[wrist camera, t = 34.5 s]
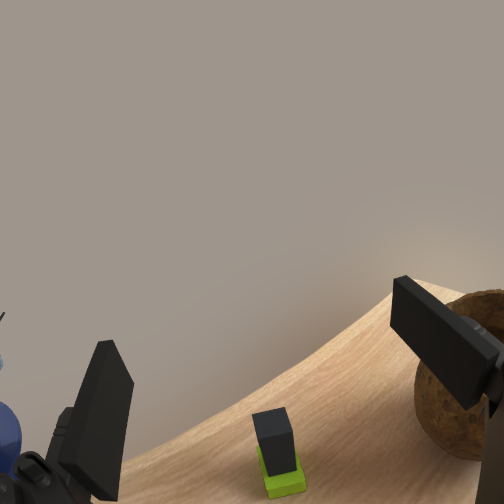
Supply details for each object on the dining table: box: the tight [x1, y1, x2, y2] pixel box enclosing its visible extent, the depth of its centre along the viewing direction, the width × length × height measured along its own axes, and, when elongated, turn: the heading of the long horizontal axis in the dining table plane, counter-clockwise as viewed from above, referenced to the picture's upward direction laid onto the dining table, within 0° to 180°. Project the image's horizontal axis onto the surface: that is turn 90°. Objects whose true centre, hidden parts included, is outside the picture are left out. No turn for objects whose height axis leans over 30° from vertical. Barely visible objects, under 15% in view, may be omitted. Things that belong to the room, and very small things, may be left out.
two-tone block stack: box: [252, 407, 306, 499], centre depth 26 cm, size 6×4×11 cm, turn 9°
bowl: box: [414, 289, 504, 461], centre depth 24 cm, size 19×19×15 cm
